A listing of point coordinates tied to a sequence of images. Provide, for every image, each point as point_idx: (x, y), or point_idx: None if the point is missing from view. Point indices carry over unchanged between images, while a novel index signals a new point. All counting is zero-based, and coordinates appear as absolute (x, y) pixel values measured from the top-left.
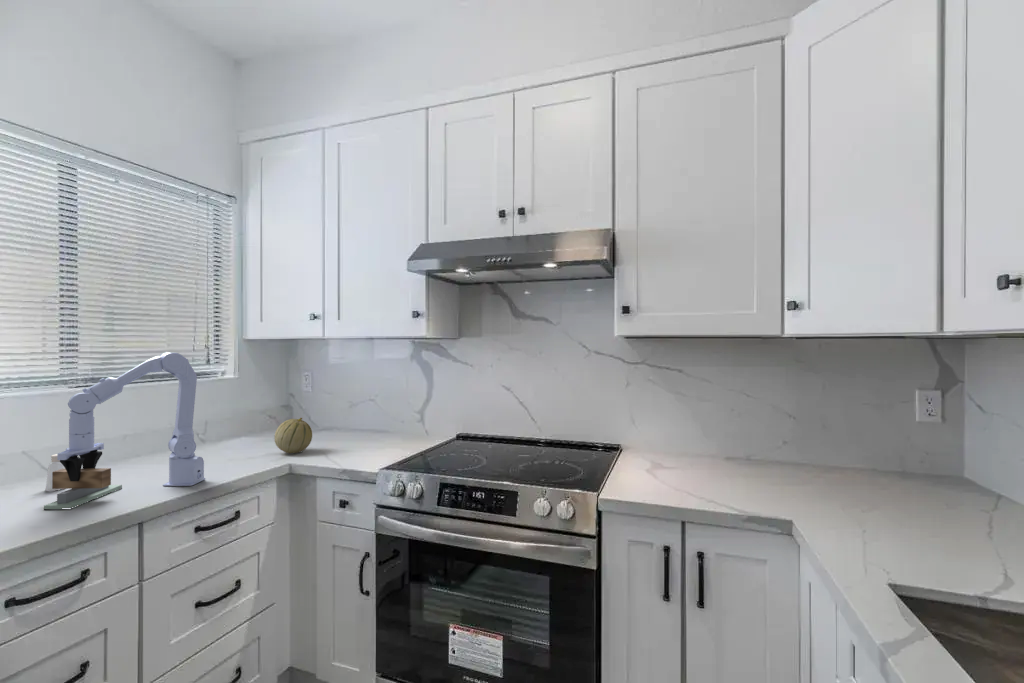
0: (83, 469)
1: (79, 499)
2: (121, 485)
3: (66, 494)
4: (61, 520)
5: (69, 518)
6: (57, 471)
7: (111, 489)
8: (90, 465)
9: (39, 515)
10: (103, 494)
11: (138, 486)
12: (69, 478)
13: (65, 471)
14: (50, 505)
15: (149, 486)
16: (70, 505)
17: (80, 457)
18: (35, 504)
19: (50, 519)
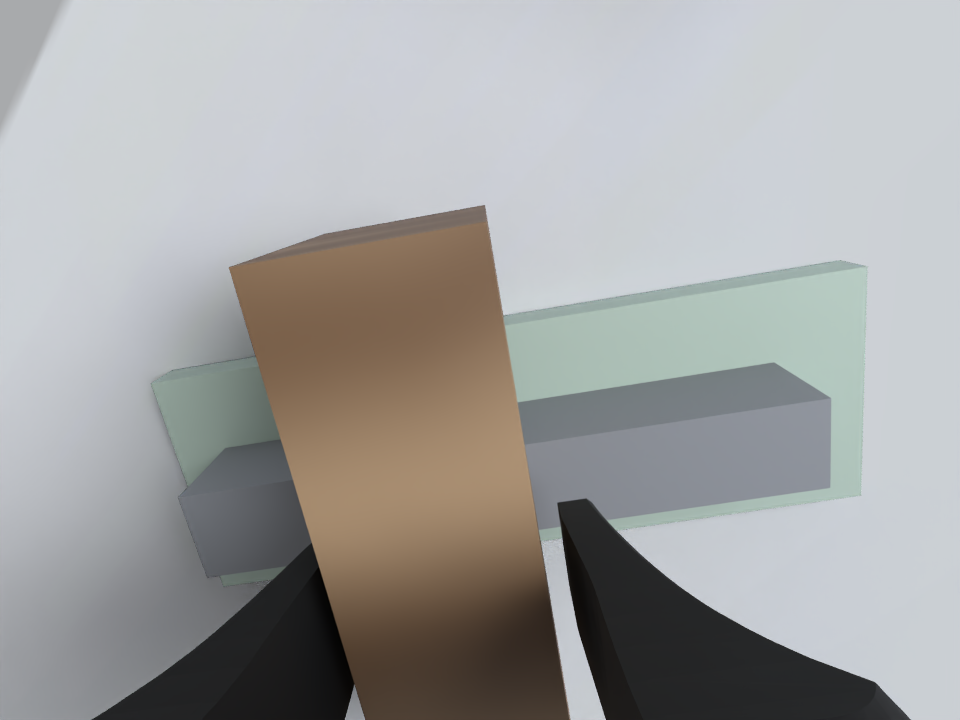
0: (489, 653)
1: None
2: (849, 495)
3: (219, 568)
4: (53, 702)
5: (98, 715)
6: (274, 347)
7: (709, 513)
8: (608, 710)
9: (67, 467)
10: None
11: (902, 560)
12: (296, 560)
13: (314, 490)
14: (173, 436)
15: (893, 645)
16: (231, 582)
17: (634, 695)
18: (274, 107)
19: (39, 622)
